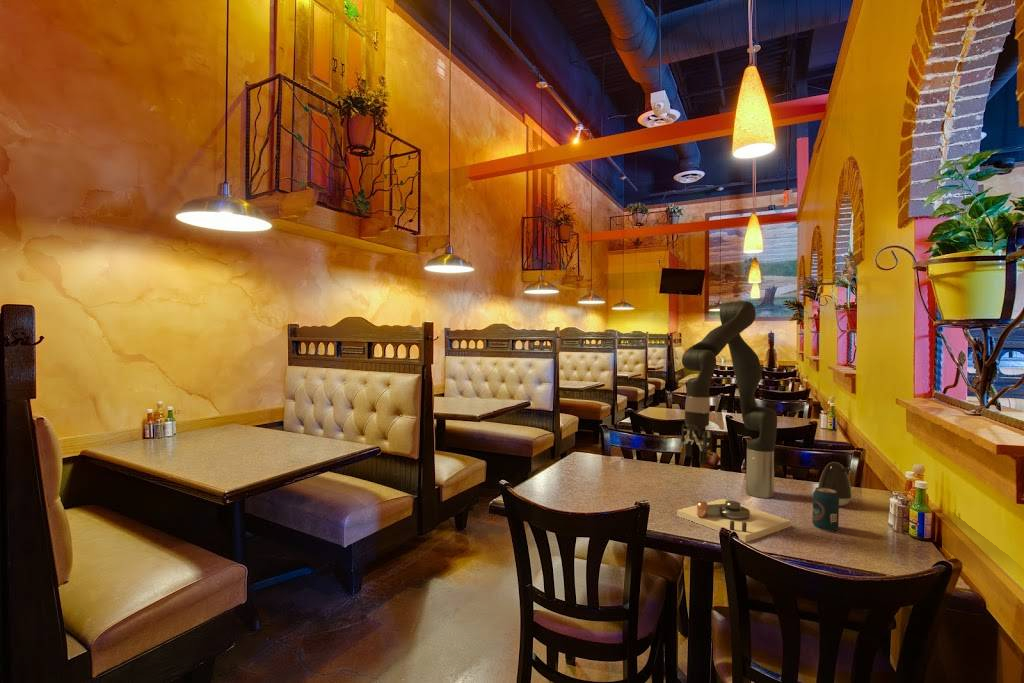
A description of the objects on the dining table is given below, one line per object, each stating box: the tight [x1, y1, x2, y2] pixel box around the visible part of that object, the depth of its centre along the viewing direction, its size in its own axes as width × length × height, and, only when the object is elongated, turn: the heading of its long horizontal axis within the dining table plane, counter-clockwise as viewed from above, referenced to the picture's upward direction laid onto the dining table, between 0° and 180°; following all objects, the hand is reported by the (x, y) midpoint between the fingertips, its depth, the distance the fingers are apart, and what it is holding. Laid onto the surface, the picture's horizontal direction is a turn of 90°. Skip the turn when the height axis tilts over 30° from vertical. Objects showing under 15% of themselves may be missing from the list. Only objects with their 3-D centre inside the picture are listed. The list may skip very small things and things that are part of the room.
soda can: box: [811, 486, 840, 532], centre depth 154 cm, size 7×7×12 cm
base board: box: [676, 498, 791, 543], centre depth 158 cm, size 24×24×4 cm
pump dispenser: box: [817, 461, 853, 507], centre depth 178 cm, size 10×10×15 cm
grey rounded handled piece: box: [696, 500, 750, 519], centre depth 158 cm, size 18×10×4 cm, turn 102°
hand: (695, 459), depth 162 cm, fingers open, 8 cm apart
